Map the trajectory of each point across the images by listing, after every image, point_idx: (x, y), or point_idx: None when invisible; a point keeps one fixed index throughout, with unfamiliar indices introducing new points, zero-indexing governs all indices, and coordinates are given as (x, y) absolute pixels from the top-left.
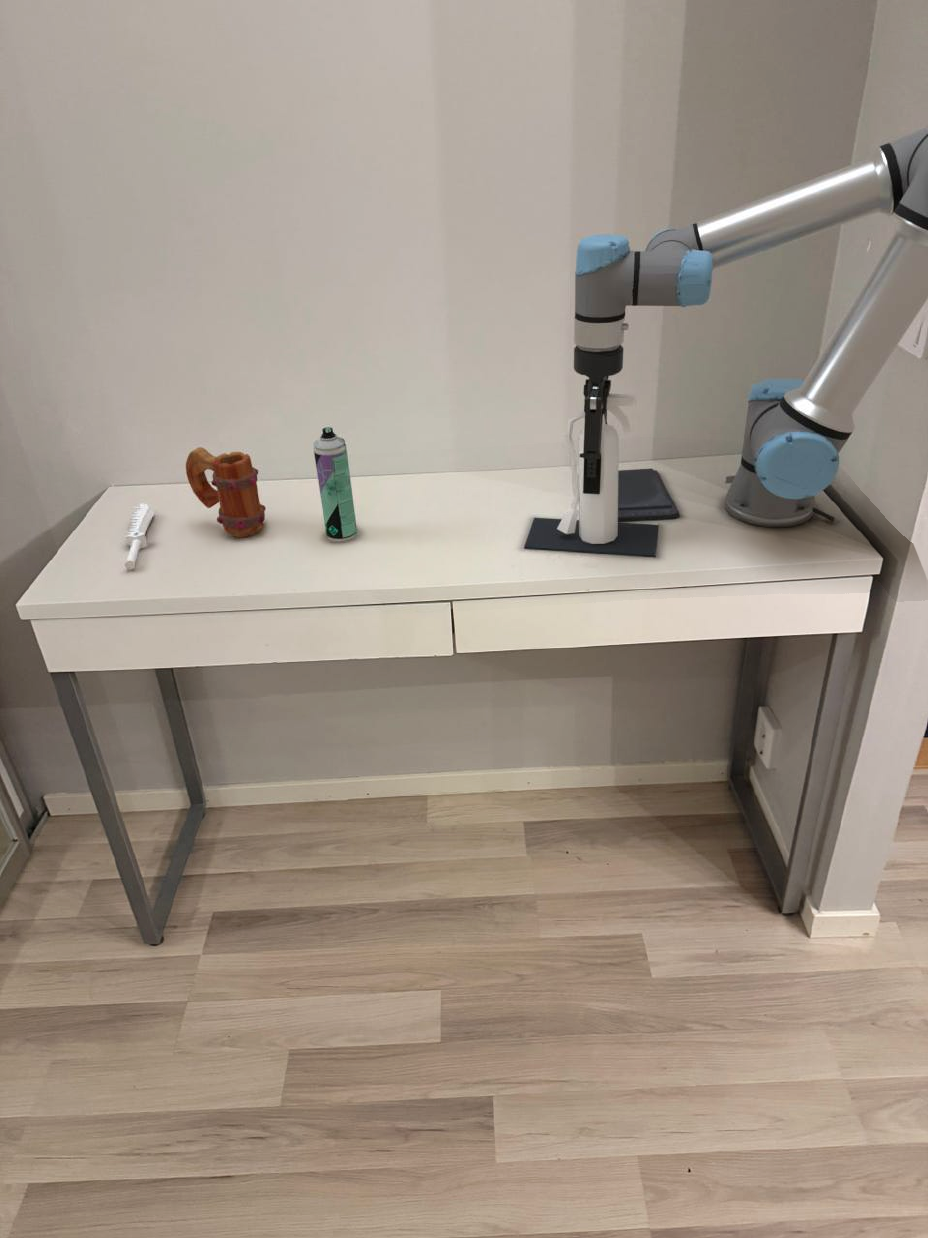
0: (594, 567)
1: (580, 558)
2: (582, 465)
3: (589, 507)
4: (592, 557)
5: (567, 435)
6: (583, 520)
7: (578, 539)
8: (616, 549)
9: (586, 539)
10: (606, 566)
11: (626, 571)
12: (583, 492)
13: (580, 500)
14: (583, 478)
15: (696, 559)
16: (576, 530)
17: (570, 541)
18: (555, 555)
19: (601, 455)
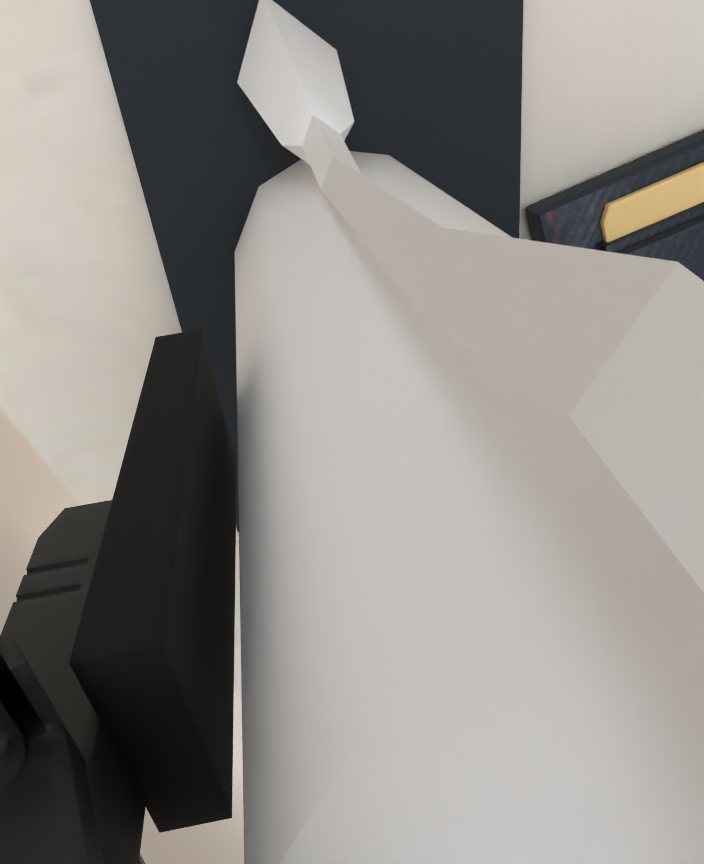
0: (23, 316)
1: (82, 219)
2: (298, 416)
3: (243, 312)
4: (122, 279)
5: (636, 361)
6: (259, 226)
7: (273, 155)
8: (229, 379)
9: (247, 219)
10: (64, 367)
11: (63, 457)
12: (154, 347)
13: (310, 224)
14: (134, 421)
15: None
16: (381, 111)
17: (231, 111)
18: (44, 50)
19: (225, 816)
